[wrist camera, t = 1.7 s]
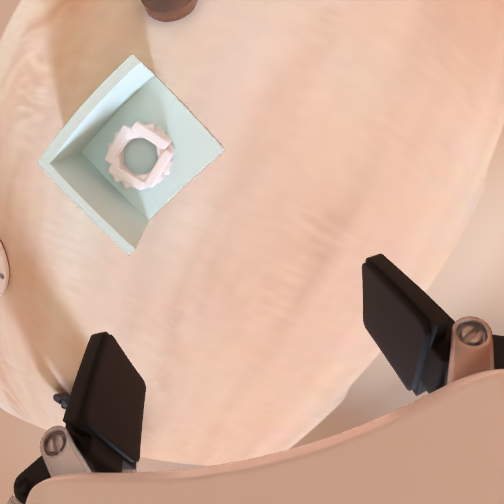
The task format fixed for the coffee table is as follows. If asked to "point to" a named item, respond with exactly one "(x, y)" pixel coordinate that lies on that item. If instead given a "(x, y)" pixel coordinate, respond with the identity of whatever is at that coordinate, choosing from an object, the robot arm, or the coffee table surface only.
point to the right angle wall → (128, 152)
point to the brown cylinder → (168, 9)
